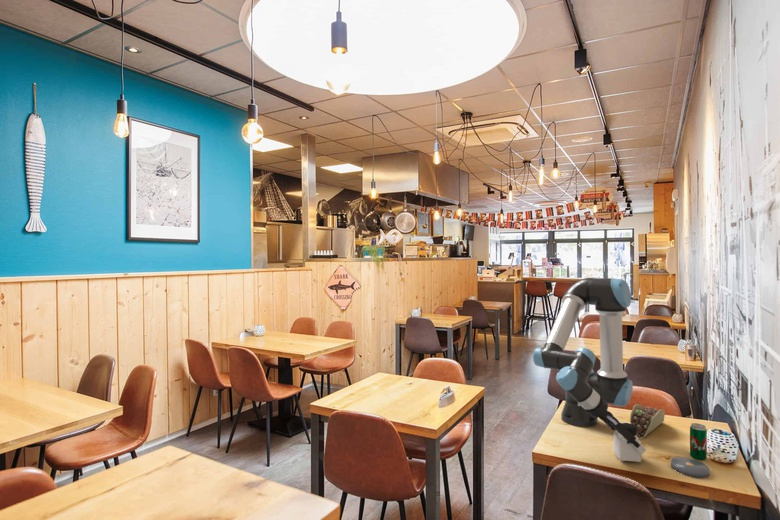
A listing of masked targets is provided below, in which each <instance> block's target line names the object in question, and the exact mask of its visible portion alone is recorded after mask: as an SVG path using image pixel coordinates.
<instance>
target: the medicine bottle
mask: <svg viewBox="0 0 780 520" xmlns="http://www.w3.org/2000/svg"><path fill="white" fill-rule="evenodd" d="M620 423H621V424H622V425H623V426H624V427H625V428H626V429H627V430H628V431H629V432H630V433H631V434H632V435H633V436H635V437H637V427H636V426H635V425H633V424H631V423H630V422H625V421H623V422H622V421H621V422H620ZM636 440H637V441H638V442H639V443H640V444H641V445H642V441H641V440H640V439H639V438H636ZM612 441H613V444H612V445H613V446H612V447H613V450H612V451H613V453H614V454H615V456H616V457H617V458H618V459H619V461H623V462H634V463H639V462H640V463H641V462H642V455H640V454H639V453H638V452H637V451H636V450H635V449H634V448H633V447H632V446H631V445H630V444H627V443H626V442H627V440H626V439H625V438H624V437H623V436H622V435H621V434H620V433H619V432H618V433H615V432H613V439H612Z"/></svg>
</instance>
